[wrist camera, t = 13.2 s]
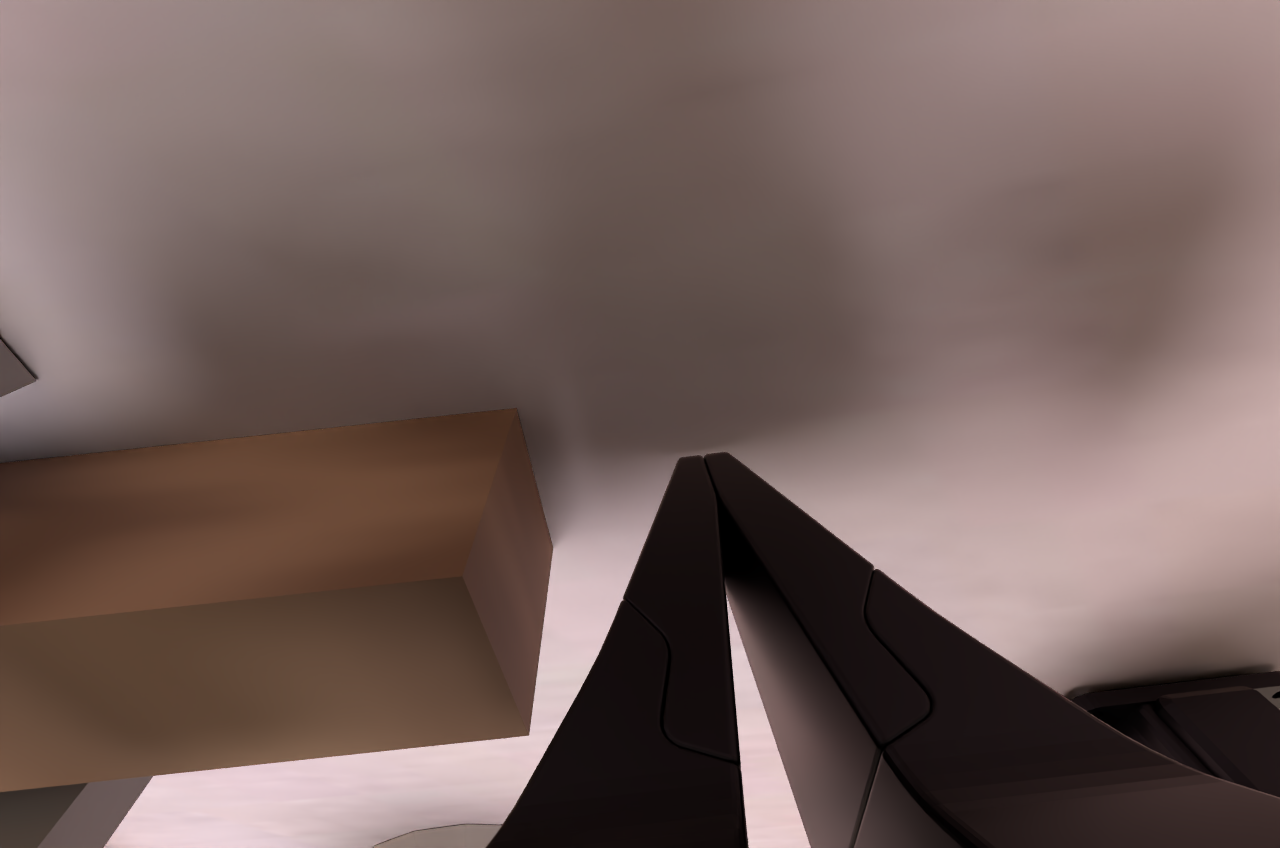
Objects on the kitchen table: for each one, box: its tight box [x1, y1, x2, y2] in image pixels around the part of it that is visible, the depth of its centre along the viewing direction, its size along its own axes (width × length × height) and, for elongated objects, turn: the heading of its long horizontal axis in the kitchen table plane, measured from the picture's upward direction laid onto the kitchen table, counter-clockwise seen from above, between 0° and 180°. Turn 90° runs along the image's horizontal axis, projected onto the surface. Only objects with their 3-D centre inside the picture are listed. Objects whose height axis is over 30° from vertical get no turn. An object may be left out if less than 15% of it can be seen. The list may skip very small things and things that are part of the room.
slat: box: [0, 408, 553, 792], centre depth 8 cm, size 14×4×4 cm, turn 95°
